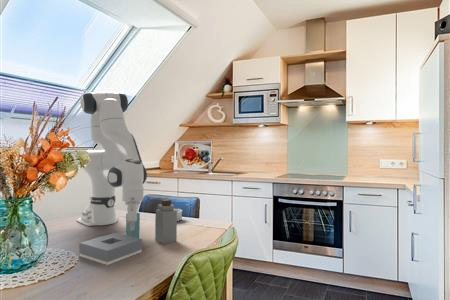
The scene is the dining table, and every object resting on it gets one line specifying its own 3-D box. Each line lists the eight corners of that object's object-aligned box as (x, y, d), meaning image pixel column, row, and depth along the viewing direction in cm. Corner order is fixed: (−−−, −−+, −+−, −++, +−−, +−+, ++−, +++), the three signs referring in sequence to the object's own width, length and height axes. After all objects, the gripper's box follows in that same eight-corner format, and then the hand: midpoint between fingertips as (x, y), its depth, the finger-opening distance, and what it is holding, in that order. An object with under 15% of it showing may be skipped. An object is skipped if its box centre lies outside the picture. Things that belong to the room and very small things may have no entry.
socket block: (79, 256, 115) (79, 242, 115) (114, 244, 129) (114, 232, 129) (107, 265, 107) (107, 250, 107) (141, 251, 120) (142, 239, 120)
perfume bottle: (155, 240, 136) (155, 199, 135) (168, 237, 140) (169, 198, 140) (162, 244, 130) (163, 201, 130) (176, 241, 135) (176, 200, 135)
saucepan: (182, 214, 187) (182, 205, 187) (182, 223, 167) (182, 212, 167) (163, 215, 186) (163, 206, 186) (160, 223, 166) (160, 213, 166)
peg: (125, 241, 134) (126, 213, 134) (133, 238, 137) (133, 212, 137) (132, 242, 132) (132, 214, 132) (139, 240, 135) (139, 213, 135)
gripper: (140, 200, 125) (139, 234, 125) (140, 192, 145) (140, 222, 145) (123, 200, 123) (123, 235, 124) (126, 193, 143) (126, 222, 143)
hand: (132, 227), depth 134 cm, fingers closed on peg, 6 cm apart
